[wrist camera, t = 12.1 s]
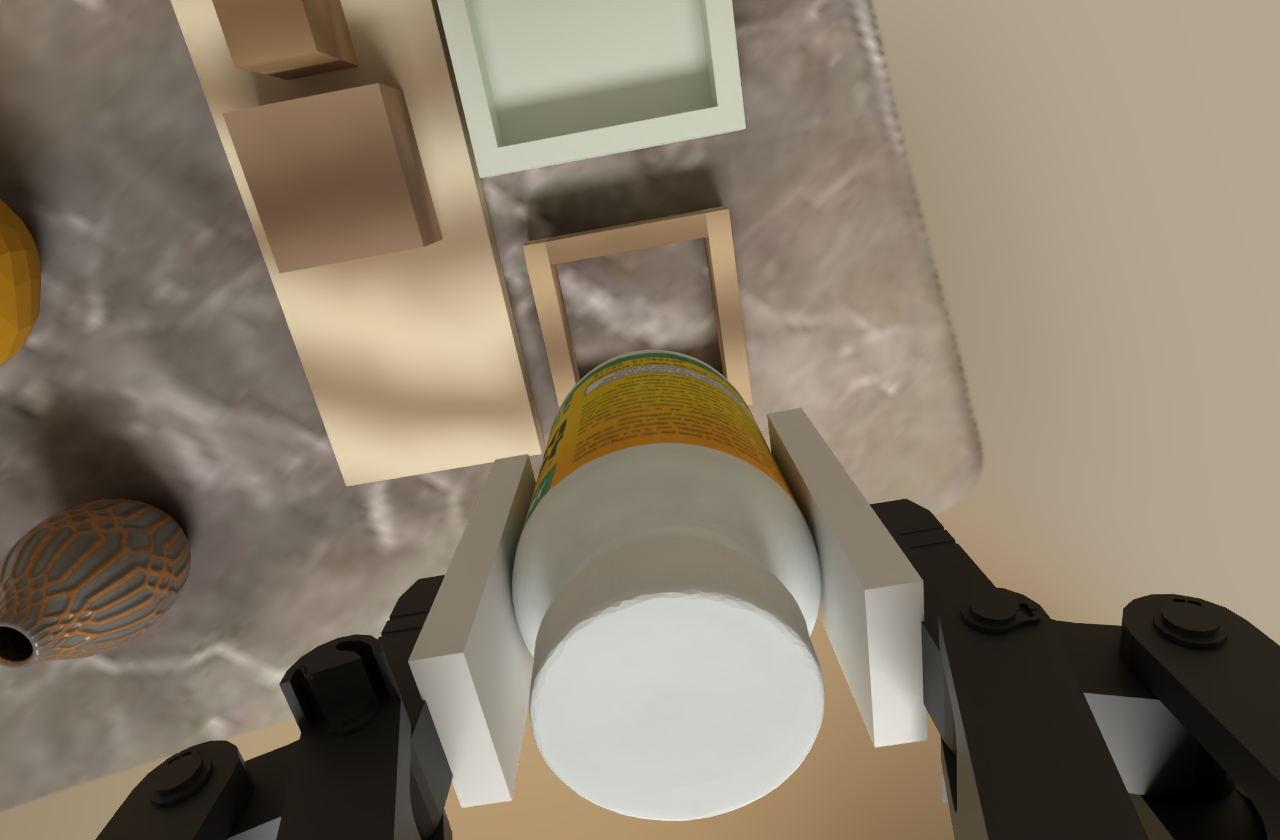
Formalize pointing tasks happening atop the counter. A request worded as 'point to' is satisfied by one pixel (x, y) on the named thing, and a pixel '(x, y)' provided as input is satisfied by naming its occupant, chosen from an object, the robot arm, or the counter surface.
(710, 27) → the tray
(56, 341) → the counter surface
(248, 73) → the board
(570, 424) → the supplement bottle
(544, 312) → the oak collar
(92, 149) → the counter surface
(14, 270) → the apple
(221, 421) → the counter surface
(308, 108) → the walnut block
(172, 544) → the vase
